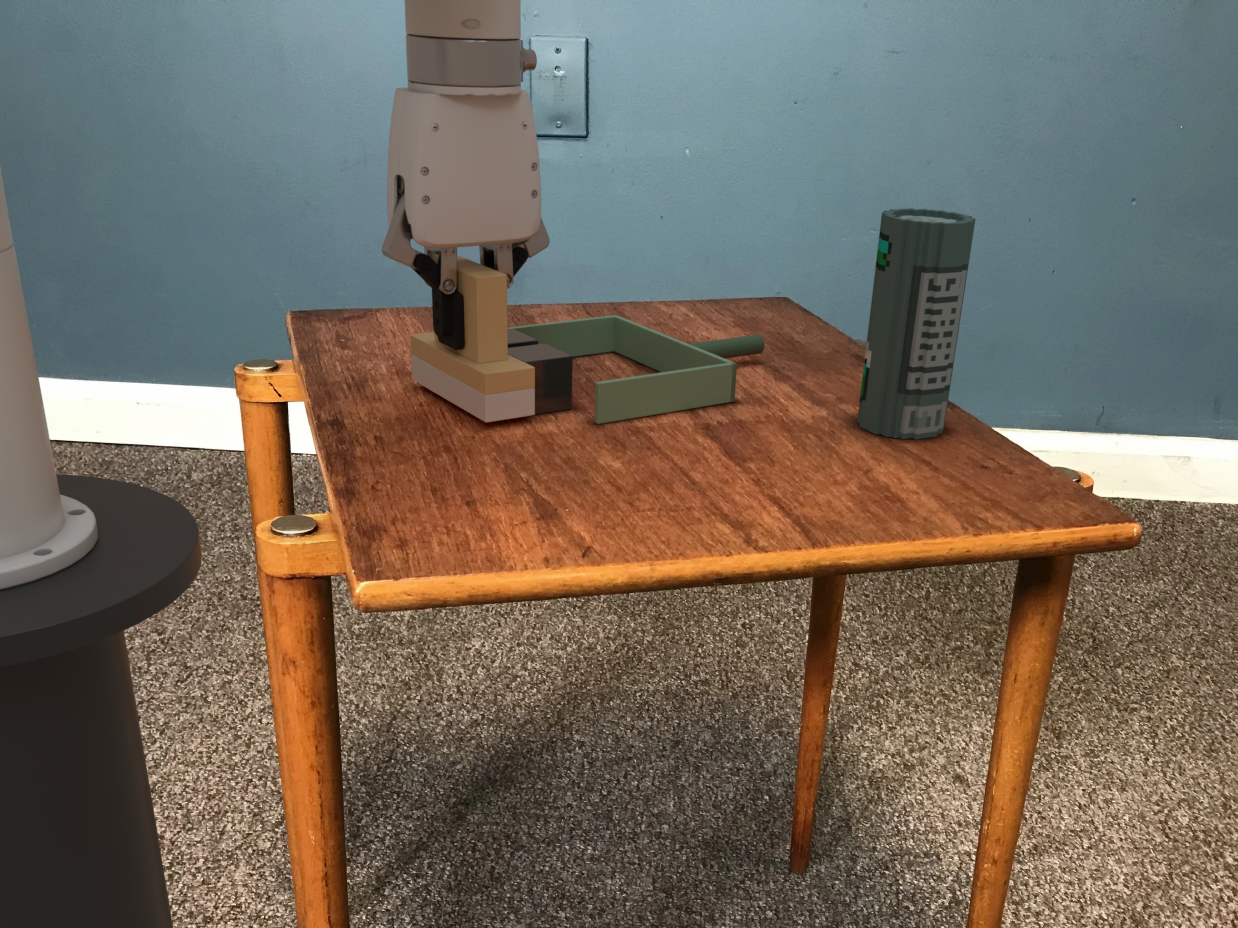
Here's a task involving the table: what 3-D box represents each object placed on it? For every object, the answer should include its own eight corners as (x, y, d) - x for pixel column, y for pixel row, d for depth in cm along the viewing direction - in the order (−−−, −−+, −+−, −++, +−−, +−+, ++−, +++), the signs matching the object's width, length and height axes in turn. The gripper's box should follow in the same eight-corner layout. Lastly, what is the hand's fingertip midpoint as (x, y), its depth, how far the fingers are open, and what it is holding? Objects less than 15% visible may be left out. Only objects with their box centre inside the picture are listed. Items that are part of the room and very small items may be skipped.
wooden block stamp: (485, 422, 92) (483, 285, 87) (412, 379, 100) (406, 253, 96) (535, 415, 94) (535, 280, 89) (458, 373, 102) (455, 249, 98)
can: (907, 410, 101) (934, 207, 94) (958, 433, 96) (991, 221, 89) (843, 418, 98) (866, 210, 91) (892, 442, 93) (921, 225, 86)
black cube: (525, 416, 95) (525, 362, 93) (498, 401, 98) (498, 348, 96) (572, 409, 97) (573, 355, 95) (545, 395, 100) (545, 343, 98)
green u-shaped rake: (597, 424, 94) (598, 383, 93) (486, 366, 106) (486, 329, 105) (822, 387, 105) (826, 350, 104) (699, 338, 117) (701, 304, 116)
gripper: (541, 63, 93) (540, 321, 102) (327, 62, 85) (345, 343, 94) (597, 72, 88) (591, 343, 97) (374, 72, 80) (389, 369, 88)
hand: (470, 341), depth 95 cm, fingers closed on wooden block stamp, 2 cm apart
